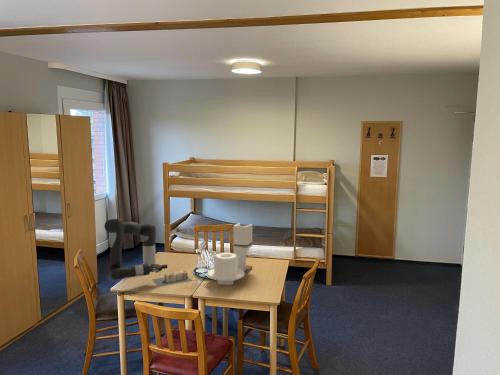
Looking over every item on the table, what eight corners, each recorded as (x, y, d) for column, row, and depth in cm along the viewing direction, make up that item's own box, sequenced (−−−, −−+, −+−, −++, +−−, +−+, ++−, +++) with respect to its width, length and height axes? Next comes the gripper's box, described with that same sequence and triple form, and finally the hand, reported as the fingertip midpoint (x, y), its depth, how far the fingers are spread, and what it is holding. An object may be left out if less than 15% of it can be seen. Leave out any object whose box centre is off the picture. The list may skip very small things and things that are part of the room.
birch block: (164, 273, 275) (185, 270, 282) (164, 280, 276) (185, 276, 283) (166, 275, 271) (187, 272, 278) (166, 282, 272) (187, 278, 279)
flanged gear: (245, 276, 285) (245, 250, 283) (242, 289, 261) (242, 261, 258) (211, 275, 287) (210, 250, 285) (205, 288, 262) (204, 260, 260)
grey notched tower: (246, 273, 292) (247, 226, 288) (233, 271, 296) (233, 225, 291) (252, 268, 302) (252, 223, 298) (239, 267, 306) (239, 222, 302)
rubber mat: (152, 280, 277) (152, 279, 277) (184, 274, 289) (184, 273, 288) (158, 287, 263) (158, 286, 263) (192, 281, 275) (192, 280, 275)
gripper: (143, 267, 258) (169, 263, 267) (139, 262, 270) (164, 258, 278) (144, 278, 259) (170, 274, 268) (139, 272, 271) (164, 268, 279)
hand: (166, 266), depth 273 cm, fingers closed
